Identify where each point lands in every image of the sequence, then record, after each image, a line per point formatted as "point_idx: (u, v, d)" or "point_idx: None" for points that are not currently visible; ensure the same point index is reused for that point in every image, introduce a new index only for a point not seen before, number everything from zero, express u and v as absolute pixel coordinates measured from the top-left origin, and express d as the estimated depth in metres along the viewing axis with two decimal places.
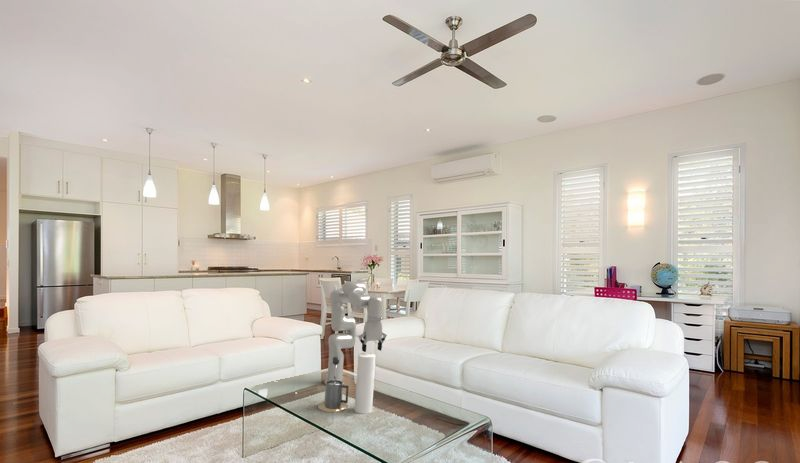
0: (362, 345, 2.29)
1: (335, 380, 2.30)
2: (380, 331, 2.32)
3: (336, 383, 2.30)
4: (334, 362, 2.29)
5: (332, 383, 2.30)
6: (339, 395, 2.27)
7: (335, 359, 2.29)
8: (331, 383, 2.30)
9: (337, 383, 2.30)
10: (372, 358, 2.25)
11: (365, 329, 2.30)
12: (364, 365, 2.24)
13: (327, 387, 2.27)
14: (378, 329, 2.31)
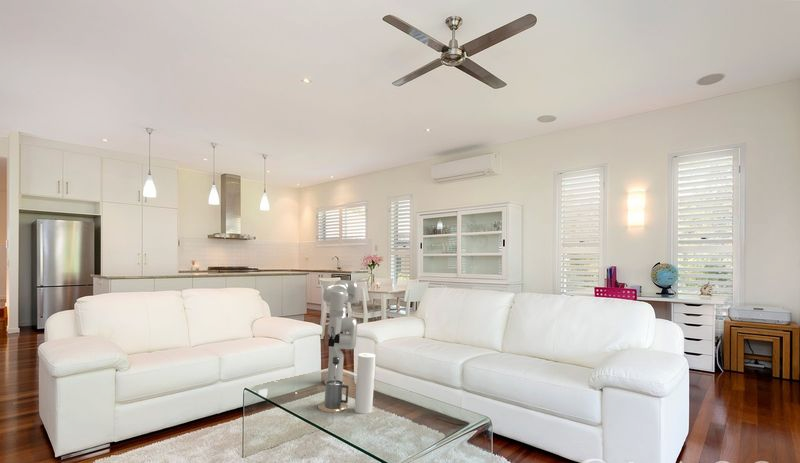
0: (330, 340, 2.27)
1: (335, 380, 2.30)
2: (340, 324, 2.36)
3: (336, 383, 2.30)
4: (334, 362, 2.29)
5: (332, 383, 2.30)
6: (339, 395, 2.27)
7: (335, 359, 2.29)
8: (331, 383, 2.30)
9: (337, 383, 2.30)
10: (372, 358, 2.25)
11: (332, 324, 2.28)
12: (364, 365, 2.24)
13: (327, 387, 2.27)
14: (340, 322, 2.35)
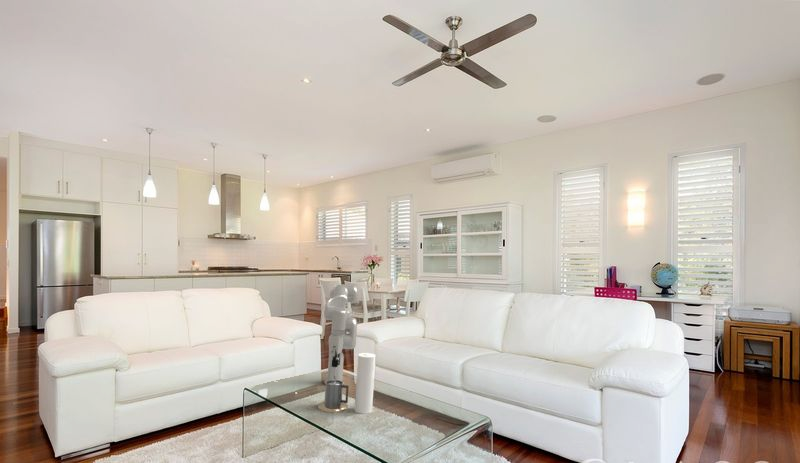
0: (333, 361, 2.27)
1: (335, 380, 2.30)
2: (342, 342, 2.34)
3: (336, 383, 2.30)
4: None
5: (332, 383, 2.30)
6: (339, 395, 2.27)
7: None
8: (331, 383, 2.30)
9: (337, 383, 2.30)
10: (372, 358, 2.25)
11: (334, 343, 2.26)
12: (364, 365, 2.24)
13: (327, 387, 2.27)
14: (342, 341, 2.32)
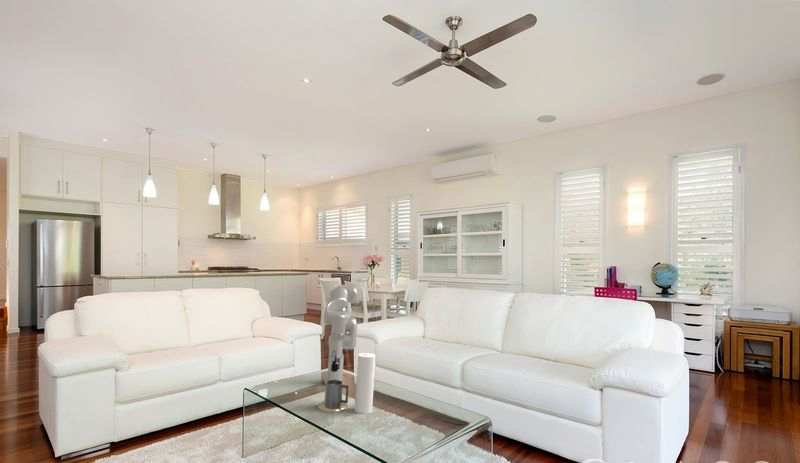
0: (333, 365, 2.27)
1: None
2: (342, 347, 2.34)
3: None
4: None
5: None
6: (339, 395, 2.27)
7: None
8: None
9: None
10: (372, 358, 2.25)
11: (334, 348, 2.26)
12: (363, 365, 2.24)
13: (327, 387, 2.27)
14: (342, 345, 2.32)
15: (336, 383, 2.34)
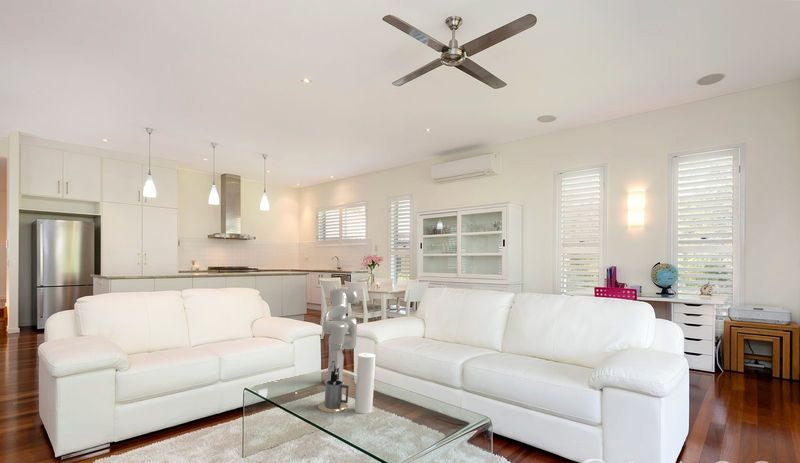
0: (332, 376, 2.27)
1: None
2: (341, 357, 2.34)
3: None
4: None
5: None
6: (339, 395, 2.27)
7: None
8: None
9: None
10: (372, 358, 2.25)
11: (333, 358, 2.26)
12: (364, 365, 2.24)
13: (327, 387, 2.27)
14: (341, 355, 2.32)
15: (336, 383, 2.34)
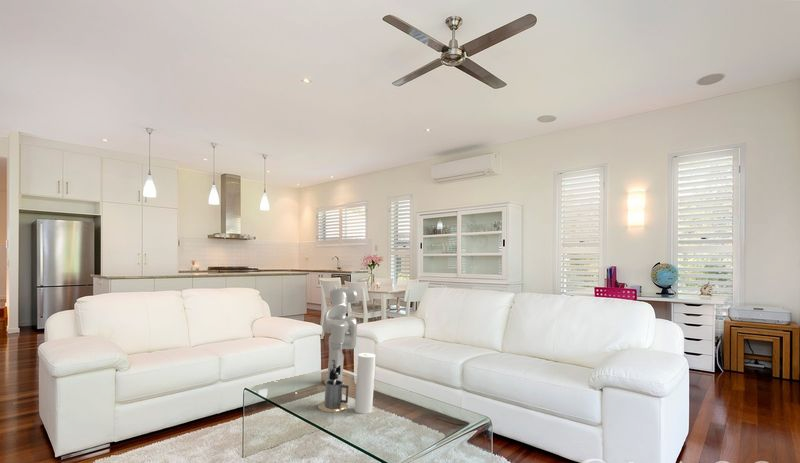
0: (331, 374, 2.25)
1: None
2: (341, 356, 2.34)
3: None
4: None
5: None
6: (339, 395, 2.27)
7: None
8: None
9: None
10: (372, 358, 2.25)
11: (333, 357, 2.26)
12: (364, 365, 2.24)
13: (327, 387, 2.27)
14: (341, 354, 2.32)
15: (336, 383, 2.34)
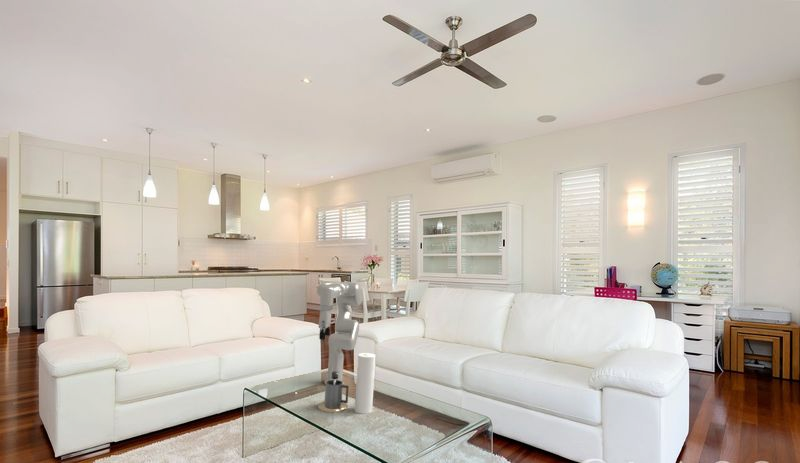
0: (321, 333, 2.38)
1: None
2: (330, 317, 2.47)
3: None
4: (333, 377, 2.28)
5: None
6: (339, 395, 2.27)
7: (334, 374, 2.28)
8: None
9: None
10: (372, 358, 2.25)
11: (323, 318, 2.39)
12: (364, 365, 2.24)
13: (327, 387, 2.27)
14: (330, 316, 2.45)
15: (336, 383, 2.34)
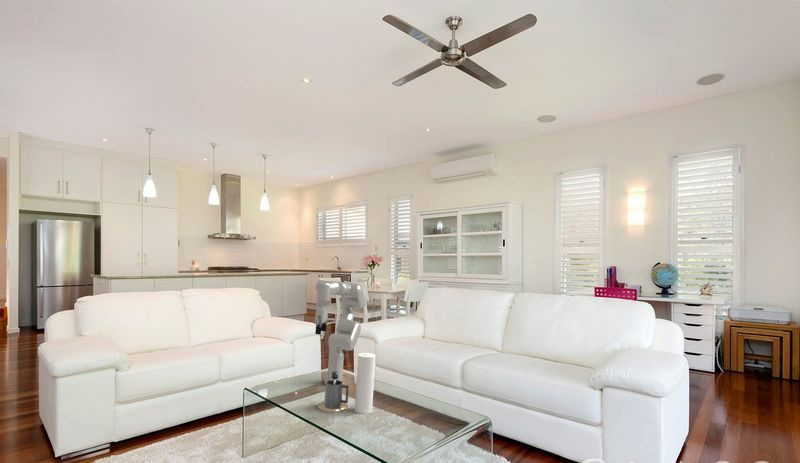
0: (317, 328, 2.41)
1: None
2: (327, 313, 2.50)
3: None
4: (333, 377, 2.28)
5: None
6: (339, 395, 2.27)
7: (334, 374, 2.28)
8: None
9: None
10: (372, 358, 2.25)
11: (319, 313, 2.42)
12: (363, 365, 2.24)
13: (327, 387, 2.27)
14: (327, 311, 2.49)
15: (336, 383, 2.34)
